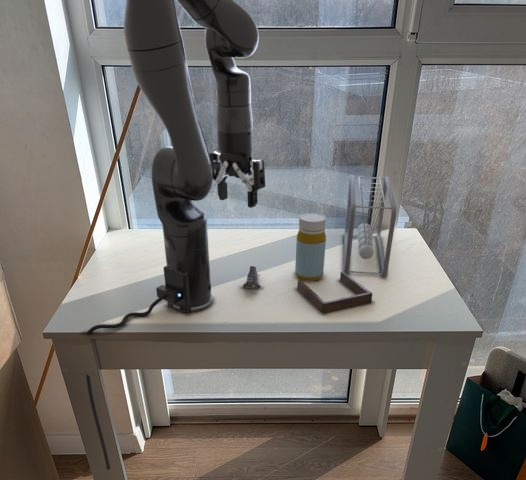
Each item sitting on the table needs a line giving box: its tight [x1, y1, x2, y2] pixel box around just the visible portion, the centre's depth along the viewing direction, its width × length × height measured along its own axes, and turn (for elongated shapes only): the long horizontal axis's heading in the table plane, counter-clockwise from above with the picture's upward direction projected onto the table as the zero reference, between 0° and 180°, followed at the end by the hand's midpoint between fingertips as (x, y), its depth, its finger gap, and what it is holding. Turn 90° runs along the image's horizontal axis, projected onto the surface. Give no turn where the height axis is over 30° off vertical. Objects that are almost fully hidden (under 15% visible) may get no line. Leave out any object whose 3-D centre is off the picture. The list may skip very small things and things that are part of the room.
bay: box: [296, 271, 373, 314], centre depth 117 cm, size 13×13×2 cm
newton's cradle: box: [343, 174, 397, 278], centre depth 133 cm, size 30×10×18 cm, turn 172°
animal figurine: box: [242, 265, 262, 289], centre depth 121 cm, size 12×4×5 cm, turn 174°
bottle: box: [294, 212, 327, 282], centre depth 123 cm, size 7×7×15 cm
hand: (237, 203), depth 116 cm, fingers open, 8 cm apart
